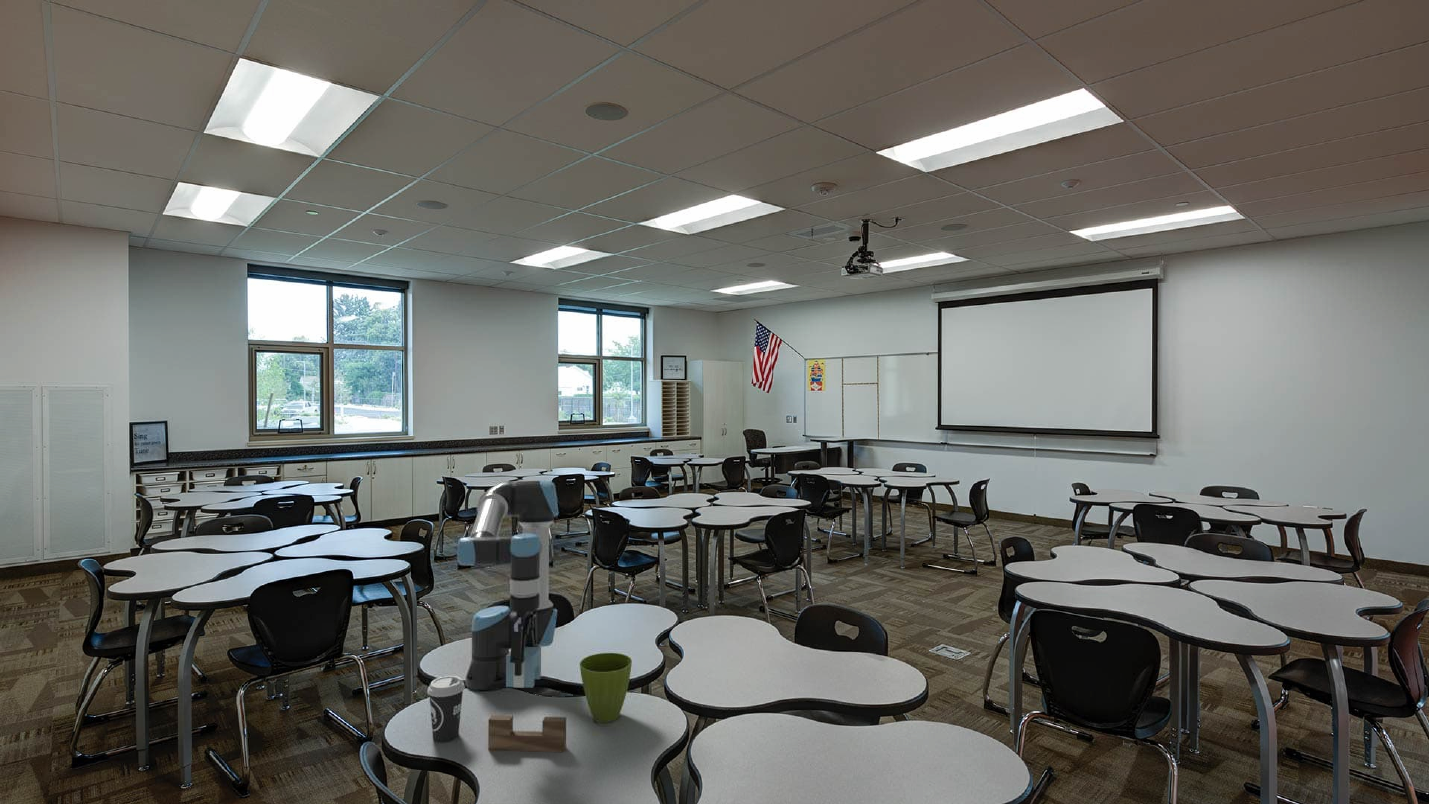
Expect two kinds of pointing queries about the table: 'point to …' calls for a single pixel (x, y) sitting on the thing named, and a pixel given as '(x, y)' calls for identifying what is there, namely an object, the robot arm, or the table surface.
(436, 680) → the coffee cup
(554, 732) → the walnut slotted plate
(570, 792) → the table surface
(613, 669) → the flower pot
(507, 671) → the teal notched block
